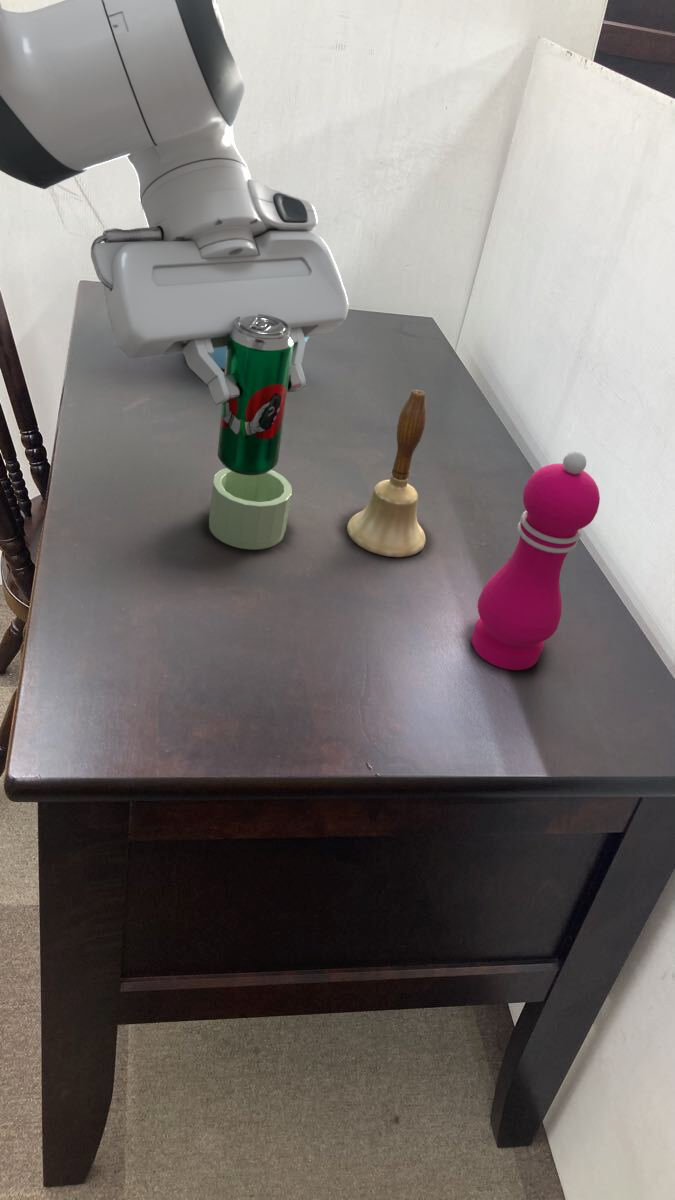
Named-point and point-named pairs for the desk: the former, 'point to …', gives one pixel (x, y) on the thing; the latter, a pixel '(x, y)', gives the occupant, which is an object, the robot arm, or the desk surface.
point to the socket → (249, 509)
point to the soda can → (256, 394)
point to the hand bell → (395, 495)
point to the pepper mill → (535, 566)
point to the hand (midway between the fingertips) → (262, 395)
